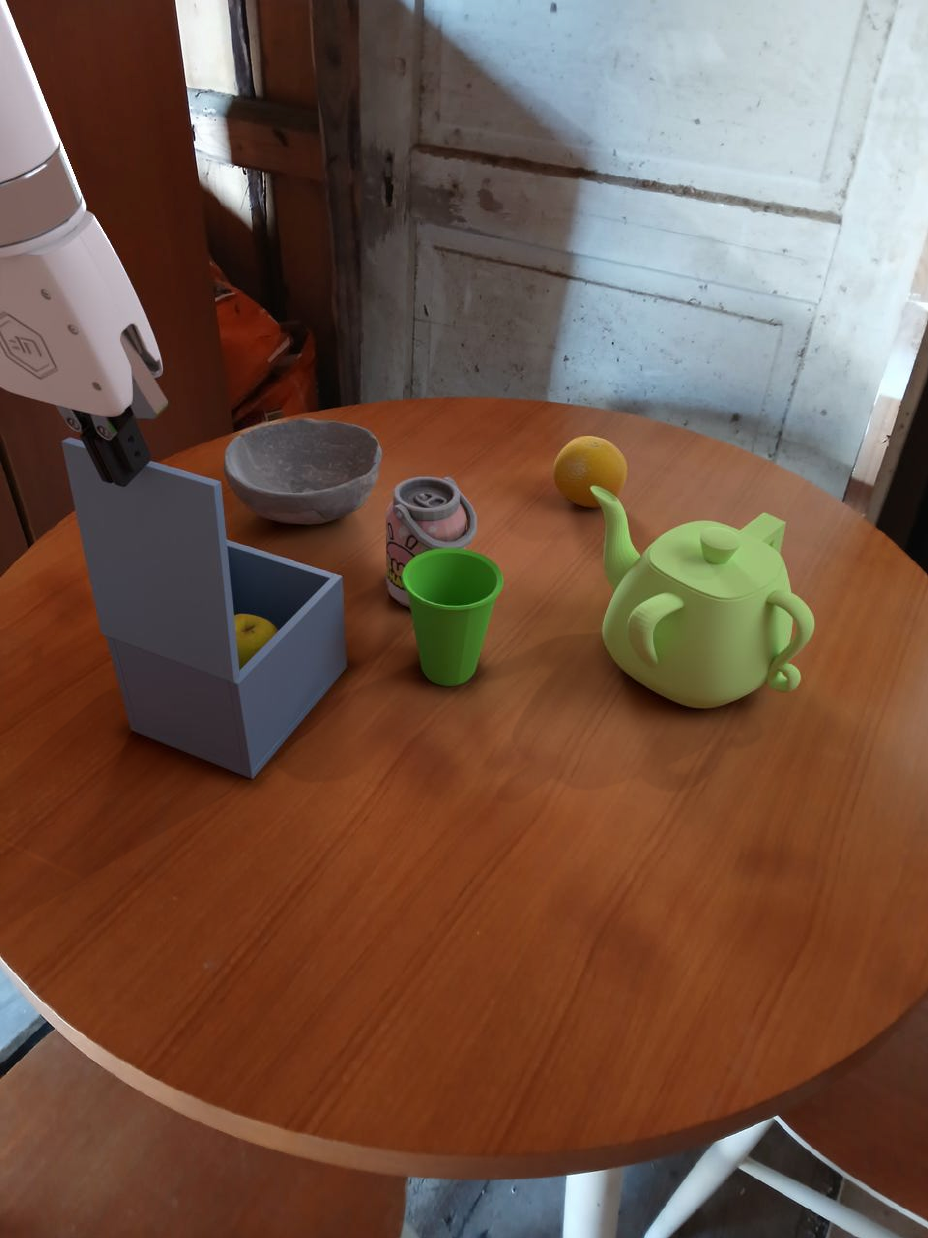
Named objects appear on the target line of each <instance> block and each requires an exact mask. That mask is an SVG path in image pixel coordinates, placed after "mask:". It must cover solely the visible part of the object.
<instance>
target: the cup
mask: <svg viewBox="0 0 928 1238" xmlns="http://www.w3.org/2000/svg"><path fill="white" fill-rule="evenodd" d="M401 579H402V585H403V587H404V589H405V590H406V592H407V593H408V598H409V604H410V608H409V609H410V613H411V619H412V625H413V630H414V635H415V640H416V647H417V652H418V656H419V662H420V668H421V671H422V673H423V674H424V675H425V677H426V678H427V679H428V680H429V681H431V682H432V683H433V684H436V685H439V686H443V687H455V686H459V685H463V684H464V683H466V682H468V681H469V680H470V679H471V678H472V676H473V675H474V674H475V673H476V671H477V666H478V663H479V660H480V655H481V653H482V649H483V645H484V642H485V638H486V635H487V631H488V627H489V624H490V621H491V617H492V614H493V610H494V606H495V603H496V599H497V596H499V595H500V593H501V591H502V590H503V588H504V583H505V582H504V581H505V580H504V577H503V573H502V570H501V569H500V568H499V566H498V565H497V564H496V563H495V561H493V560H492V559H491V558H490V557H488V556H486V555H484V554H482V553H479V552H477V551H473V550H470V549H466V548H465V549H460V548H441V549H434V550H430V551H426V552H424V553H422V554H419V555H417V556H416V557H414V558H413V559H412V560H410V561H409V562H408V564H407V565H406V566H405V568H404V569H403V572H402V576H401Z"/></svg>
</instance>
